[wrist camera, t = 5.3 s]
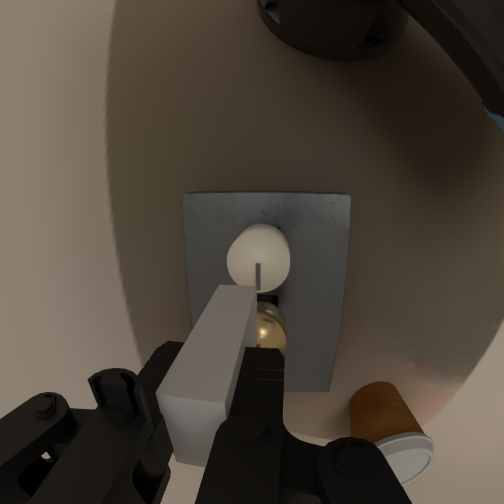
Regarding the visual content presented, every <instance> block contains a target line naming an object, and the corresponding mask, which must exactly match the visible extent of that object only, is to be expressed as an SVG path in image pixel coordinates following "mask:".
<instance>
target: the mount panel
mask: <svg viewBox="0 0 504 504" xmlns="http://www.w3.org/2000/svg"><path fill="white" fill-rule="evenodd" d="M350 209H351V195H349V194H346V193H334V192H306V191H201V192H190V193H185V194H183V219H184V238H185V254H186V268H187V281H188V293H189V304H190V314H191V323H192V330H193V328H194V326H195V325H196V323H197V321H198V320H199V318H200V316H201V315H202V313H203V311H204V310H205V308H206V306H207V305H208V303H209V301H210V300H211V298H212V296H213V295H214V293H215V291H216V289H217V288H218V286H219V285H238V284H236V283H235V281H234V280H233V279H232V278H231V276H230V274H229V271H228V268H227V255H228V251H229V249H230V247H231V246H232V244H233V243H234V241H235V240H236V239H237V237H238V236H239V235H240V234H241V233H242V231H244V230H245V229H246V228H248V227H250V226H252V225H255V224H268V225H272V226H274V227H280V231H281V232H282V233H283V234H284V235H285V237H286V238H287V240H288V243H289V247H290V269H289V273H288V275H287V277H286V279H285V280H284V281H283V283H282V284H281V285H280V286H278V287H277V288H275V289H273V290H271V291H268V292H263V293H257V295H279V297H278V305H275V306H277V307H278V308H279V309H280V310H281V311H282V312H283V313H284V315H285V317H286V320H287V344H286V350H285V353H284V355H283V356H284V358H285V368H284V391H297V392H325V391H329V390H330V385H331V379H332V374H333V368H334V362H335V356H336V350H337V344H338V337H339V330H340V323H341V315H342V307H343V299H344V290H345V280H346V269H347V258H348V245H349V229H350Z"/></svg>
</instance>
